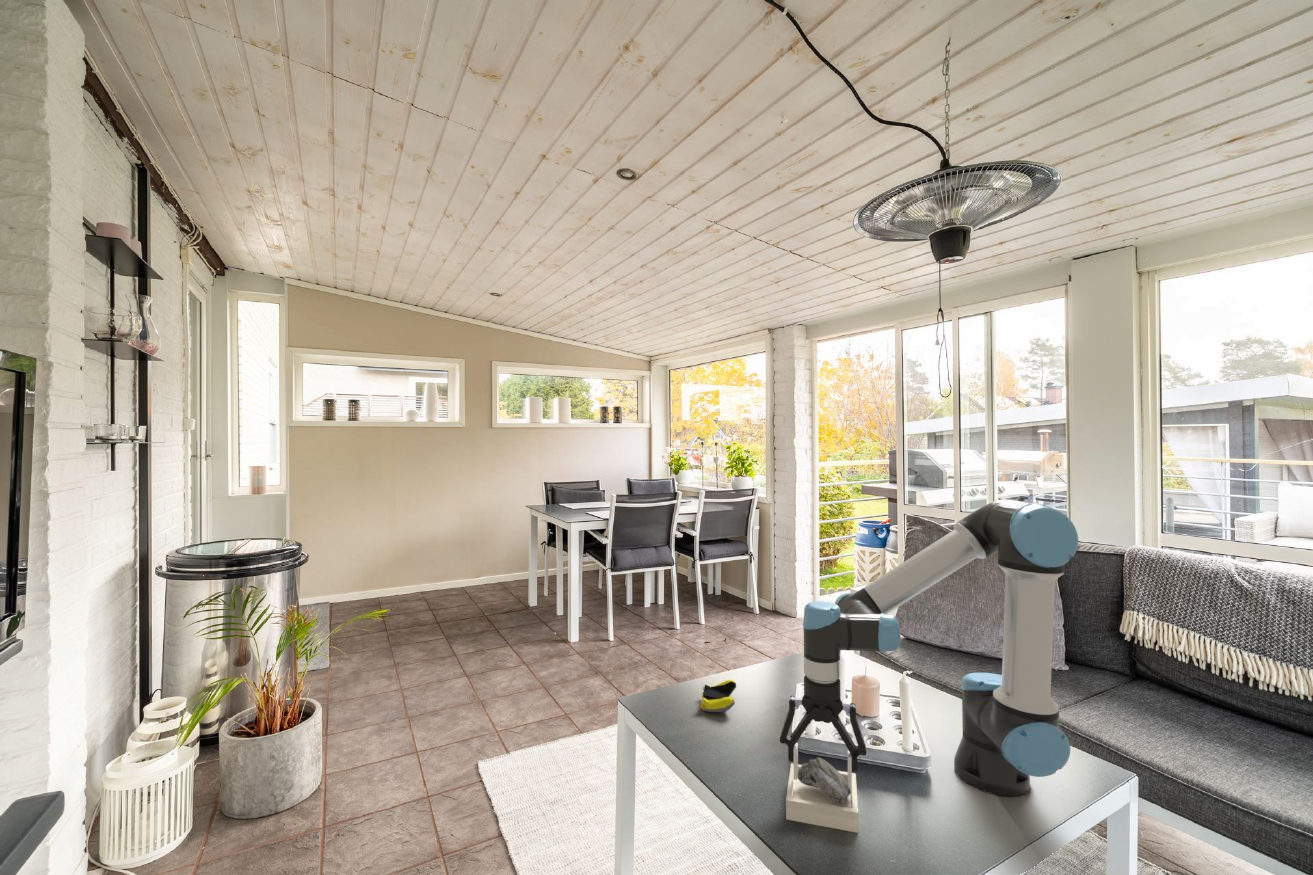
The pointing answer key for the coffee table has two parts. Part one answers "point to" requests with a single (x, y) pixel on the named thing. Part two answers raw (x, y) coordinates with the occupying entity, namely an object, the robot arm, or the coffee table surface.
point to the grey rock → (825, 779)
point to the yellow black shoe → (718, 697)
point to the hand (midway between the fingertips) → (822, 780)
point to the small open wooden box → (821, 805)
